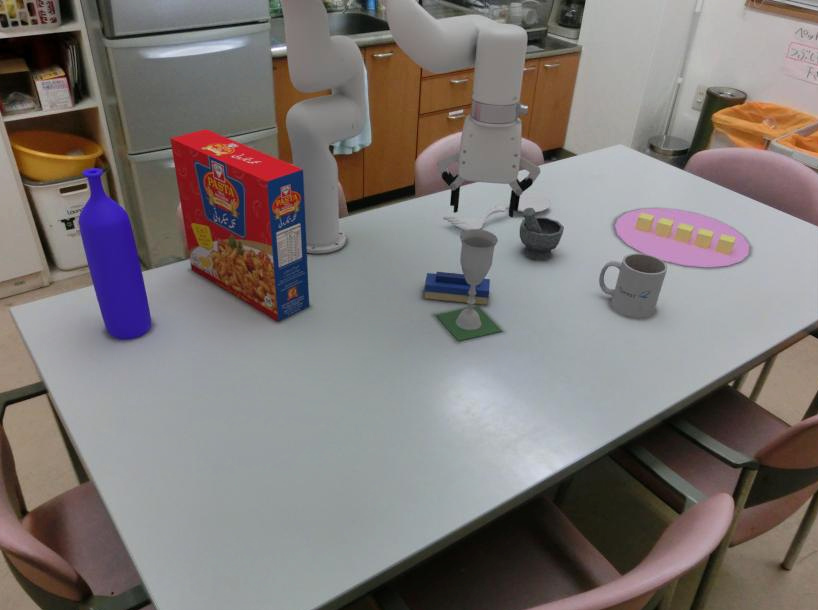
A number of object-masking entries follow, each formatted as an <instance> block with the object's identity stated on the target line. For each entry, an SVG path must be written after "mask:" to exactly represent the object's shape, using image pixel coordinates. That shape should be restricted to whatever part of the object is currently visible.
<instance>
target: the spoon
mask: <svg viewBox="0 0 818 610" xmlns="http://www.w3.org/2000/svg"><path fill="white" fill-rule="evenodd" d="M551 205H552V201H551V199H550V197H548V196H546V195H544V194H537V193H532V194H527V195H526V194H525V195H521V196H520V199H519V206H518V211H517V212H521V213H523V211H524V210H525V209H526V208H533V209H534V210H535V214H537V213H540V212H544V211H545V210H547V209H548V208H549V207H551ZM509 206H510V203H508V204H504V205H495V208H492V209H489V210H487V211H486V212H484V213H483V214H481V215H479V216H477V217H474V218H471V217H470V218H469V217H458V216H457V217H456V216H452V215H443V217H442V220H444V221H447V223H450V224H451V225H454V226H455V227H456V228H459V229H460V230H463V232H464V231H467V230H472V229H478V230H481V229H482V227H483V225H484V223H485V221H486V220H487V219H488V218H489V217H490V216H492V215H494V214H497V213H505V212H507V210H509Z"/></svg>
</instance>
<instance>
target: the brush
mask: <svg viewBox="0 0 818 610" xmlns="http://www.w3.org/2000/svg"><path fill="white" fill-rule="evenodd" d="M435 272H436V273H433V272H426V277H425V282H424V299H428V300H438V301H447V302H454V303H455V302H456V303H466V304H468V302H467V300H468V299H469V293H468V291H470V288H471V285H470V284H468V283H467V282H466V279H465V277H464V274H463V273H455V272H444V271H435ZM490 283H491V279H490V278H484V279H483V281H482V282H481V283H480V284H479V285H476V286H475V291H476V295H475V296H474V300H475V301H476V302H475V303H474V305H475V304H476V305H485V306H486V305H487V304H488V298H489V296H490V285H491V284H490Z"/></svg>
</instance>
